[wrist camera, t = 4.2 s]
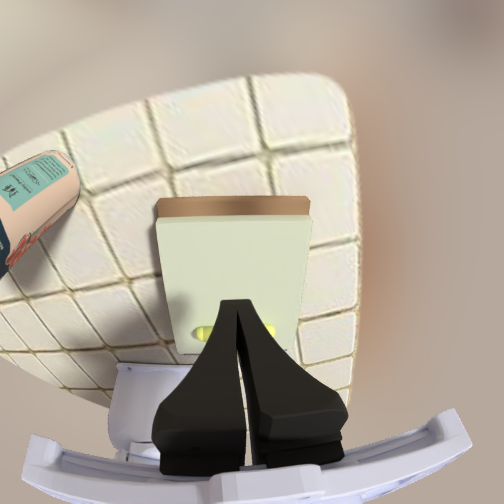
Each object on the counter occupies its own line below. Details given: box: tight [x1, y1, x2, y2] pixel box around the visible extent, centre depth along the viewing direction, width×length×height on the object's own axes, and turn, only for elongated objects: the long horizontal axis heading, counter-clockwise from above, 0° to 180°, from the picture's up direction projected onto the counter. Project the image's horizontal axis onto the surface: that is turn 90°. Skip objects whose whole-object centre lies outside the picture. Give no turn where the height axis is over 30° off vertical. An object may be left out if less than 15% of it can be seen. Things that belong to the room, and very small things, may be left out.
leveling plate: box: [156, 215, 313, 355], centre depth 21 cm, size 10×12×2 cm
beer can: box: [0, 150, 80, 280], centre depth 12 cm, size 5×5×12 cm
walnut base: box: [157, 196, 310, 218], centre depth 22 cm, size 10×14×1 cm
